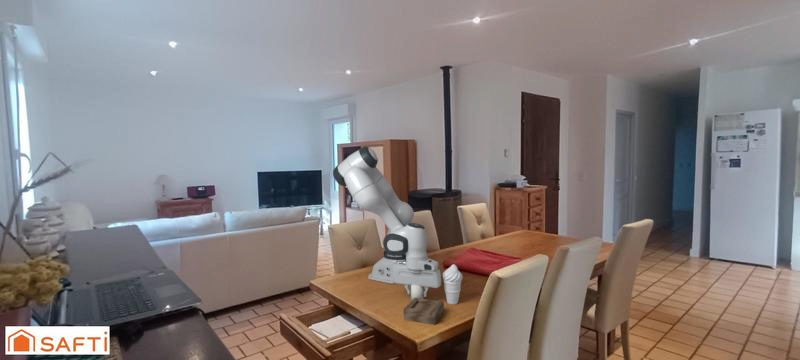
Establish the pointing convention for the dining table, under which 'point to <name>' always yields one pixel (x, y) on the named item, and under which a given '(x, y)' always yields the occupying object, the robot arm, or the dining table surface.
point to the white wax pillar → (416, 292)
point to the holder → (424, 311)
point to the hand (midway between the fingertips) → (417, 295)
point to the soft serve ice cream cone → (452, 284)
